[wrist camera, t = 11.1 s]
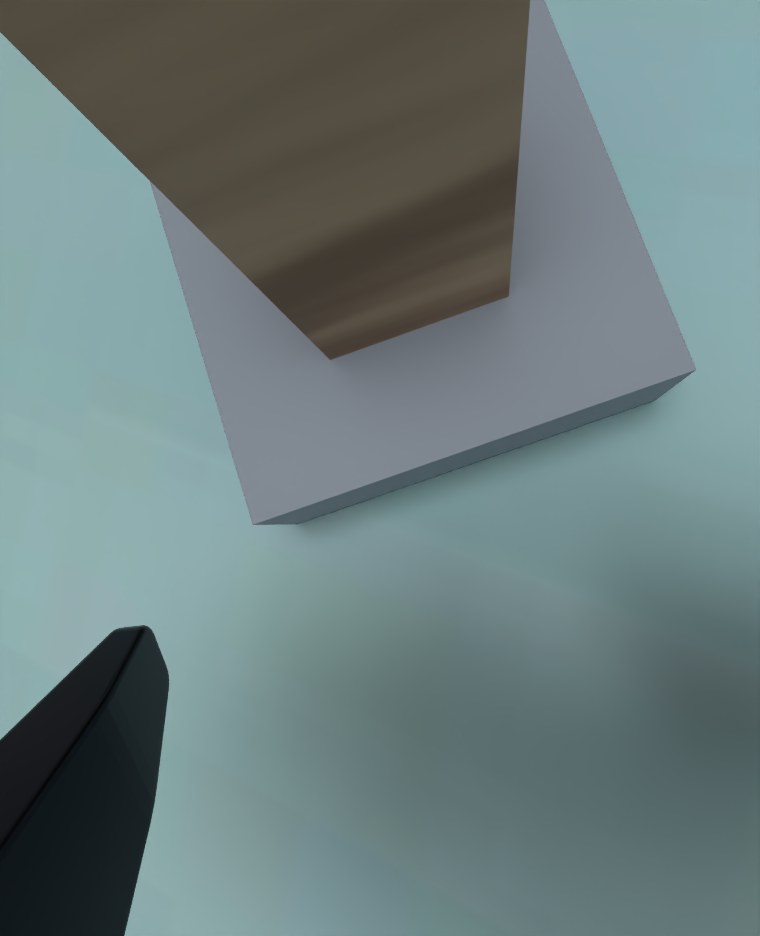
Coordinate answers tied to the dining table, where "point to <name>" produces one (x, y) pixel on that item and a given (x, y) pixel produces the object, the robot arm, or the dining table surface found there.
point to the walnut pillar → (314, 140)
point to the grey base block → (447, 335)
